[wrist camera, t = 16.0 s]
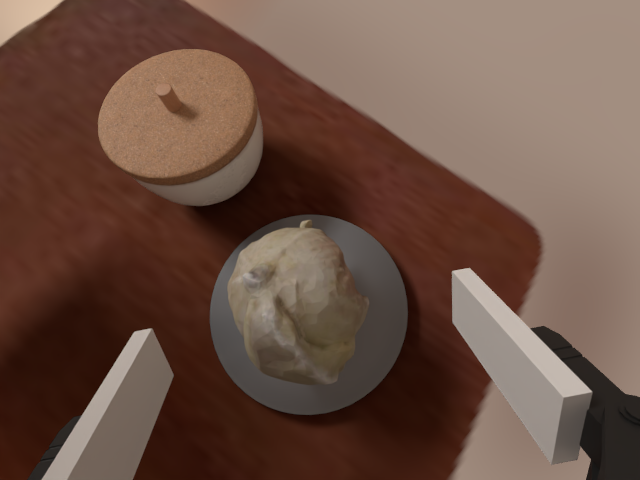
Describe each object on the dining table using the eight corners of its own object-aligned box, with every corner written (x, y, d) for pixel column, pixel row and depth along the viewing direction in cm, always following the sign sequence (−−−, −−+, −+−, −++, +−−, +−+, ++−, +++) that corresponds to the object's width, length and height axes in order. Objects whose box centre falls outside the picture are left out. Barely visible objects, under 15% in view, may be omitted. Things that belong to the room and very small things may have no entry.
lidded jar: (301, 166, 30) (284, 83, 21) (205, 251, 28) (141, 198, 19) (223, 100, 33) (180, 3, 24) (131, 172, 31) (47, 94, 22)
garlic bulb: (332, 373, 25) (333, 461, 15) (226, 324, 25) (158, 381, 15) (385, 254, 25) (422, 264, 15) (278, 206, 25) (243, 186, 15)
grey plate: (222, 429, 23) (216, 433, 22) (210, 237, 28) (204, 232, 27) (428, 392, 23) (432, 393, 22) (380, 206, 28) (381, 199, 27)
